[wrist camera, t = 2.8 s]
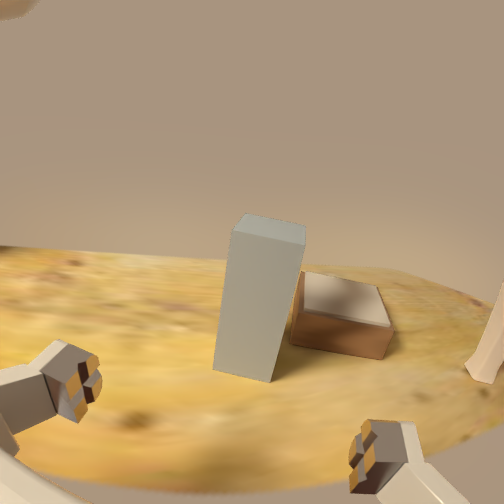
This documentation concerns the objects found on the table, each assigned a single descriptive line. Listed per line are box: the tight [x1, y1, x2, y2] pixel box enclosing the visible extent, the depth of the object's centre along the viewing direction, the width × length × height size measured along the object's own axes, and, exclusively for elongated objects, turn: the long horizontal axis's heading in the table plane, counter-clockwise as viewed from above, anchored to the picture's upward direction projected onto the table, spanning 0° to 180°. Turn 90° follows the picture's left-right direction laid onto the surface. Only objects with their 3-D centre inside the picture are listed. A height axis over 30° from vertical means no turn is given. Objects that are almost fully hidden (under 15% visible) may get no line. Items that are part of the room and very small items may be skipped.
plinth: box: [290, 271, 395, 360], centre depth 28 cm, size 8×8×3 cm
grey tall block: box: [213, 213, 306, 383], centre depth 21 cm, size 4×4×10 cm
